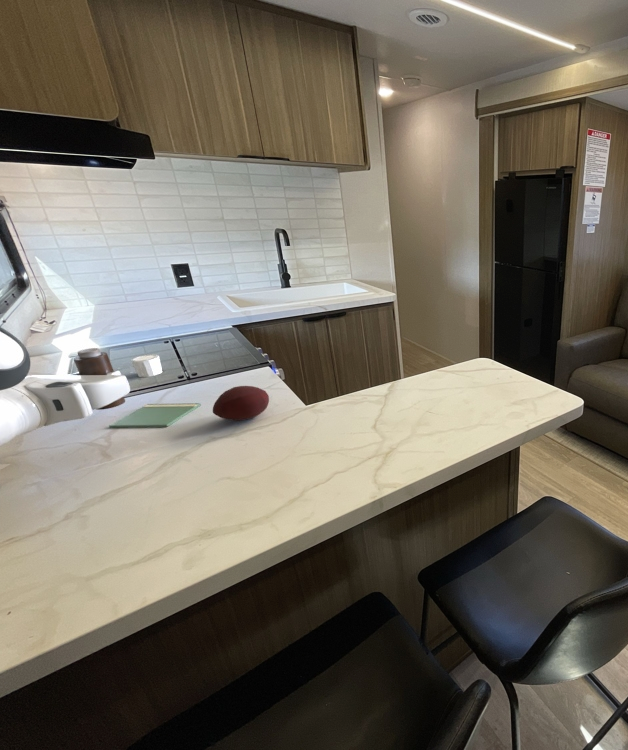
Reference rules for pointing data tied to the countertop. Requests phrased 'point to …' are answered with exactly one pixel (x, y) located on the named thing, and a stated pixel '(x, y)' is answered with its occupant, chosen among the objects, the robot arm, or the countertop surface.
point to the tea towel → (156, 415)
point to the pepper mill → (95, 368)
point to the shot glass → (147, 365)
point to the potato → (241, 403)
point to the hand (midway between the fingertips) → (102, 374)
